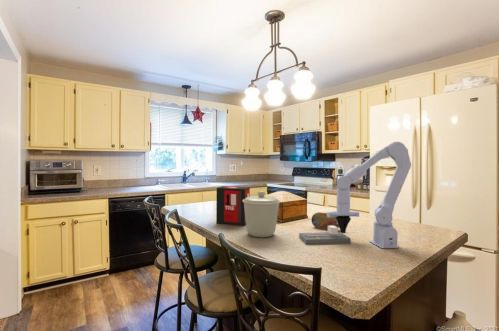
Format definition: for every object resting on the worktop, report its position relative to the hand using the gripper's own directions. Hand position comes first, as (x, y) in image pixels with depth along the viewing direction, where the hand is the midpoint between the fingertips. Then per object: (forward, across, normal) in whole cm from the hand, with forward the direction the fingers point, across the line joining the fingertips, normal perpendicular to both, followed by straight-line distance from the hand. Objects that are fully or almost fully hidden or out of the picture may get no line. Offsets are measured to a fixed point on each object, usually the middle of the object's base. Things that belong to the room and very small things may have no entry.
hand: (342, 232), depth 121 cm
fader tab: (+1, +5, 0) cm, 5 cm away
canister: (+3, +36, -11) cm, 38 cm away
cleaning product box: (+4, +48, -35) cm, 59 cm away
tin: (+3, 0, -19) cm, 19 cm away
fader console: (+3, +9, 0) cm, 9 cm away
